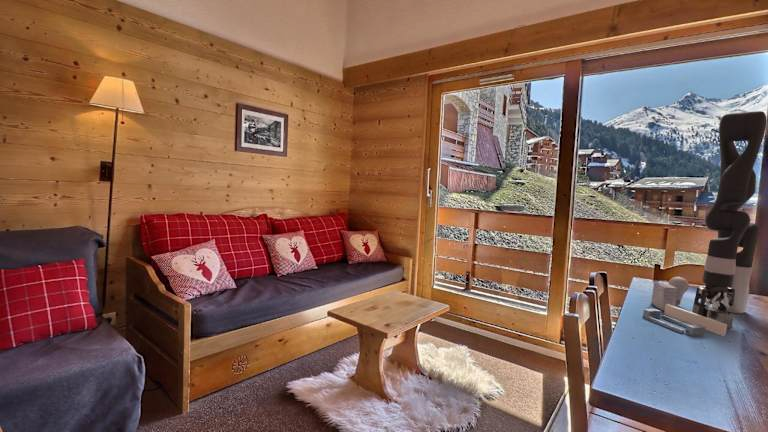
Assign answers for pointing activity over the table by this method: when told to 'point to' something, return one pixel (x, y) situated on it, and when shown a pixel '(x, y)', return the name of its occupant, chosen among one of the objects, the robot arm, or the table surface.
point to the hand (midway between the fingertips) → (711, 318)
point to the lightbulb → (679, 287)
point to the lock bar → (717, 315)
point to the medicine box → (663, 295)
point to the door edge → (696, 319)
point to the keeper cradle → (690, 329)
